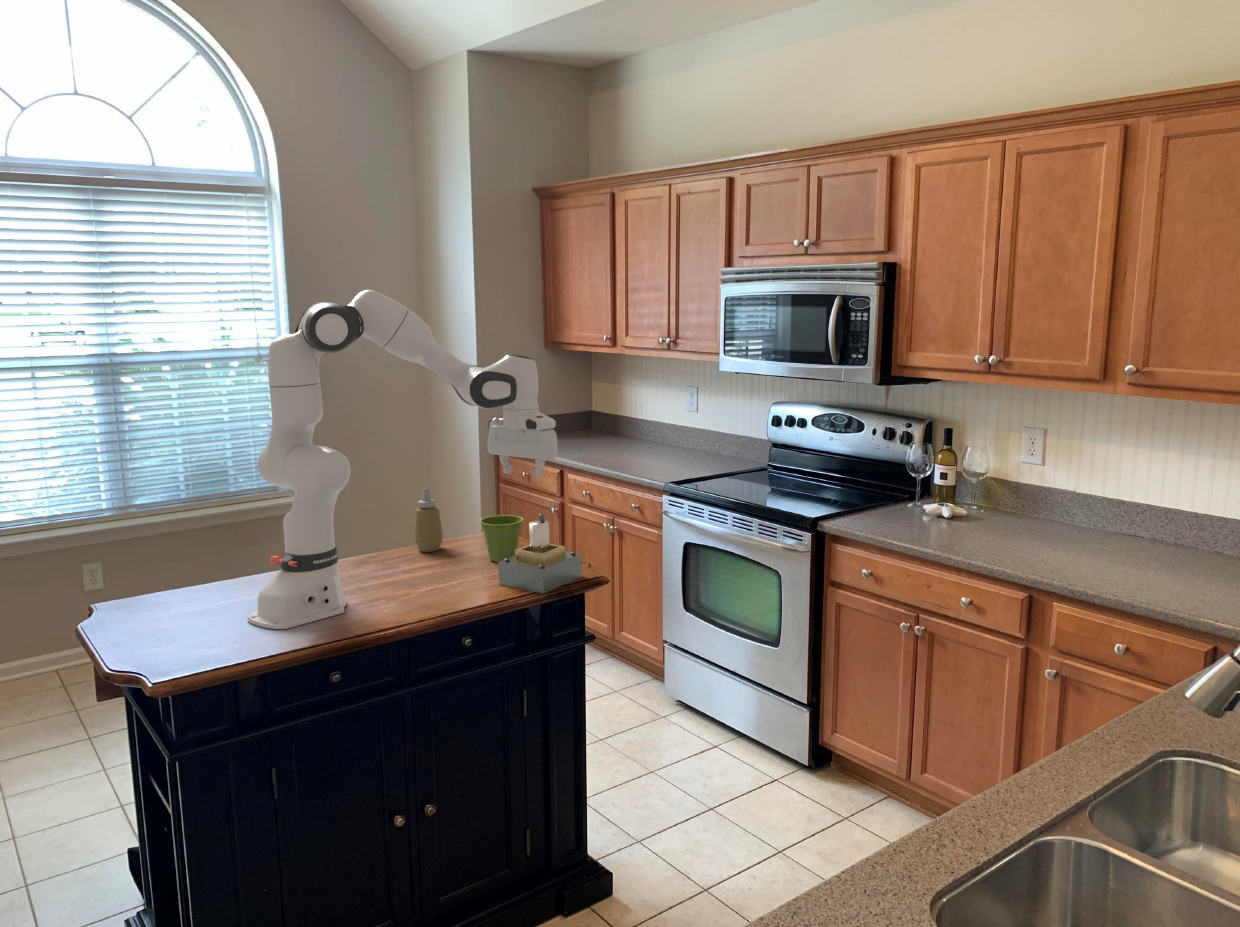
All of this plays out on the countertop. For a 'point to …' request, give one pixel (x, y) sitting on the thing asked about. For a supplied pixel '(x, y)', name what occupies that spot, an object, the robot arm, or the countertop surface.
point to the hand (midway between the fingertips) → (522, 474)
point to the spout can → (539, 535)
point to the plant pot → (501, 535)
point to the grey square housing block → (540, 569)
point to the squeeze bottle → (427, 524)
